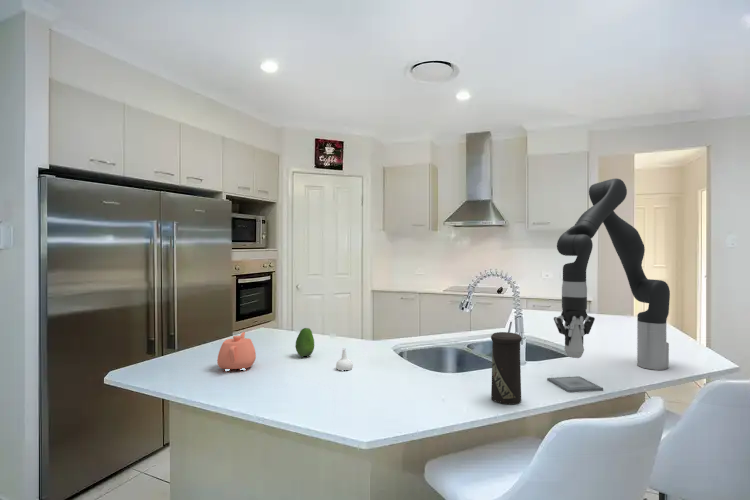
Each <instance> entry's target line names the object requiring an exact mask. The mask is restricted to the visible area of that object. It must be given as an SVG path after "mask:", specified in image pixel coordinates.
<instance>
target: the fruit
mask: <svg viewBox="0 0 750 500" xmlns="http://www.w3.org/2000/svg"><path fill="white" fill-rule="evenodd" d="M294 347H295V350H296V352H297V354H298V355H299V356H300V357H301V356H308V357H310V356H312V353H313V352H314V349H315V339H314V335H313V332H312V330H311V329H310V328H309V327H304V328H302V329H300V332H299V333H298V335H297V337H296V340H295V346H294ZM309 355H310V356H309Z"/></svg>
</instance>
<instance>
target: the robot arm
mask: <svg viewBox="0 0 750 500" xmlns="http://www.w3.org/2000/svg"><path fill="white" fill-rule="evenodd" d="M627 194H628V189H627V185H626V184H625V181H623V180H622V179H621V178H610V179H607V180H603V181H601V182H596V183H594V184H592V185H590V187H589V189H588V195H589V199H590V202H591V204H592V206H591V207H589V208H588V209H587V210H586V211H584V212H583V213H582V214H581V215H580V217H579V218H578V219H577V221H575V224H574V225H573V226H571V227H570V228H568V229H567V230H566V231H565V232H563V233H562V234H561V235H560V236H559V238H558V239H557V243H556V250H557V252H558V253H559V254H560V255H562V256H566V257H576V258H575V260H574V261H573V262H568V263H565V264H564V265H562V284H561V309H562V310H561V311H562V312H561V314H560V315H559V316H554V317H553V321H554V323H555V327H556V328H557V330H558V333H559V334H561V335H563V336H564V346H565V345H566V346H568V345H569V340H570V342H571V336H572V330H573V329H574V322H575V321H576V318H579V319H580V321H581V324H580V325H579V326H580V327H579V328H580V333H581V336H582V342H583V343H584V336H585V335H589V334H590V332H591V330H592V327H593V324H594V322H595V320H596V317H594V316H590V315H588V312H587V309H588V287H587V269H588V264H589V260H590V257H591V254H592V251H593V246H594V245H593V240H592V239H593V238H594V237H595V235H596V234H597V232H598V230H599V229H600V228H601V225H602V224H603V226H604V227H605V229H606V232H607V234H608V236H609V239H610V240H611V243H612V245H613V248H614V249H615V253H617V256H618V258H619V260H620V263H621V265H622V267H623V270H624V272H625V275H626V278H627V282H628V285H629V288H630V291H631V293H632V295H633V297H634V299H635V300H636V301H638V302H640V303H645V304H648V306H647V307H648V308H647V309H646V310H644V311H641V312H638V313H637V320H636V321H637V322H636V323H637V325H636V326H637V327H636V328H637V329H636V330H637V333H636V334H637V338H636V340H637V342H636V346H637V347H636V350H637V351H636V352H637V353H636V354H637V355H636V356H637V357H636V362H637V363H636V365H637V366H638V367H640V368H643V369H647V370H652V371H653V370H656V371H663V370H667V369H669V368H670V367H669V366H670V365H669V363H670V360H669V359H670V358H669V357H670V352H669V351H670V348H669V347H670V346H669V345H670V343H669V342H667V320H668V316H669V313H670V298H671V293H670V292H671V291H670V287H669V284H668V283H667V282H666V281H664V280H662V279H650V278H649V279H648V277H647V276H646V274H645V272H644V269H643V267H642V266H643V265H642V264H643V259H644V256H645V250H646V249H645V244H644V242H643V240H642V237H641V235H640V233H639V231H638V230H637V229H636V228H635V227H634V226H632V224H630V223H628V222H627V221H625V220H624V219H623V218H621V216H619V215H618V214H617V213H616V212H615V210H616V209H617V208H618V207H619V206H620V205H621V204H622V203H623V202H624V201H625V200H626V198H627Z"/></svg>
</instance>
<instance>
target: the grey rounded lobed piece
mask: <svg viewBox="0 0 750 500" xmlns="http://www.w3.org/2000/svg"><path fill="white" fill-rule="evenodd" d="M580 324H581V321H580V319H579V318H576V321H575V322H574V329H573V330H572V336H571V342H570V340H569V345H568V346H566V345H565V344H564V351H565V353H566V356H567V357H569V358H572V359H580V358H582V356H583V354H584V351H585V347H584V341H583V342H582V336H581V333H580V328H579V327H580V326H579V325H580Z"/></svg>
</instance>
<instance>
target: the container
mask: <svg viewBox="0 0 750 500" xmlns="http://www.w3.org/2000/svg"><path fill="white" fill-rule="evenodd" d="M490 339H491V341H492V349H491V352H492V353H491V354H492V355H491V393H490V394H491V397H490V398H491V400H492V401H494V402H496V403H499V404H502V405H503V404H504V405H518V404H520V403H521V402H522V382H521V381H522V376H521V375H522V374H521V372H522V371H521V369H522V368H521V341H523V337H522V336H521V335H520V334H518V333H515V332H509V331H506V332H505V331H499V332H494V333H493V334H491V335H490Z"/></svg>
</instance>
